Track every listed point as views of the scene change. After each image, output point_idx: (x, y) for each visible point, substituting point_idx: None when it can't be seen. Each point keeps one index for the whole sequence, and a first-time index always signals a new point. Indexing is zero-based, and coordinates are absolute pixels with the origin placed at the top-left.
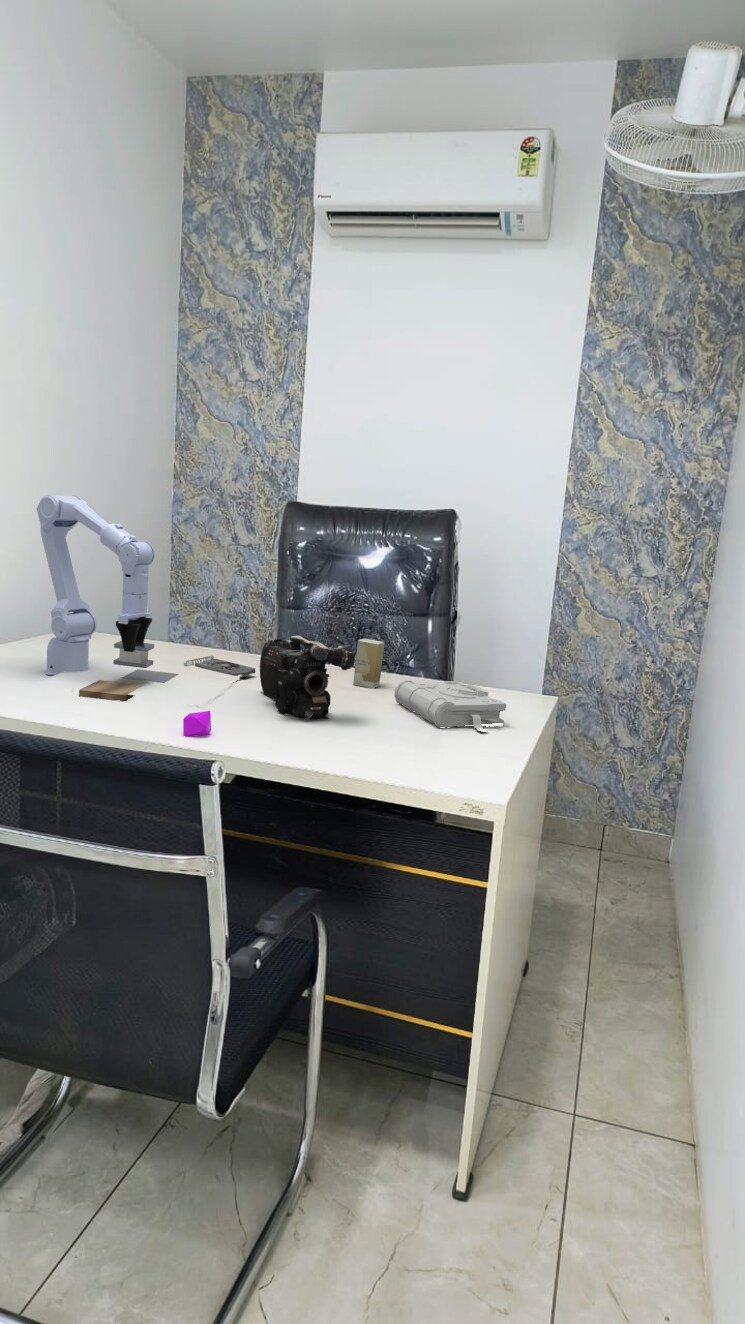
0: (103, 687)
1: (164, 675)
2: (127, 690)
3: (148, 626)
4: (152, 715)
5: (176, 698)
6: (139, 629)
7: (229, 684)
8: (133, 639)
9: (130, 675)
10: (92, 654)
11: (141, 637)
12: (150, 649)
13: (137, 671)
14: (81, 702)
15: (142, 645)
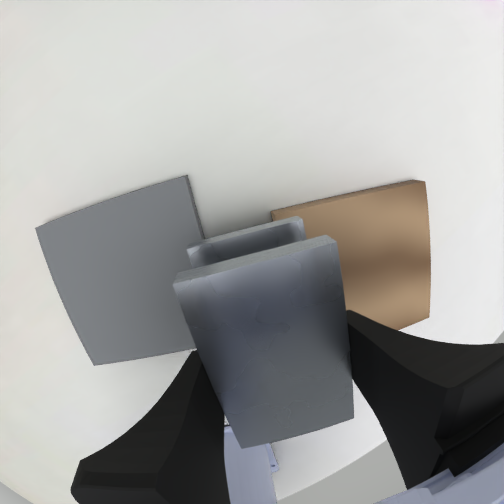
0: (381, 293)
1: (85, 252)
2: (377, 211)
3: (130, 439)
4: (459, 62)
5: (281, 66)
6: (204, 453)
7: (9, 74)
8: (407, 335)
9: (177, 338)
10: (70, 478)
11: (200, 395)
12: (251, 254)
13: (115, 351)
14: (459, 265)
15: (289, 309)
